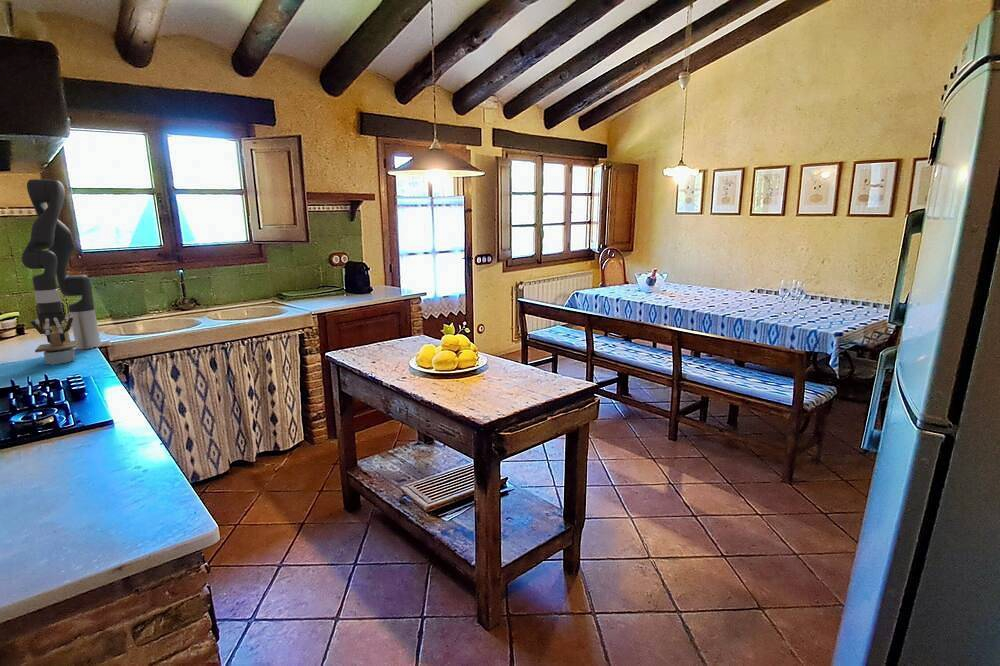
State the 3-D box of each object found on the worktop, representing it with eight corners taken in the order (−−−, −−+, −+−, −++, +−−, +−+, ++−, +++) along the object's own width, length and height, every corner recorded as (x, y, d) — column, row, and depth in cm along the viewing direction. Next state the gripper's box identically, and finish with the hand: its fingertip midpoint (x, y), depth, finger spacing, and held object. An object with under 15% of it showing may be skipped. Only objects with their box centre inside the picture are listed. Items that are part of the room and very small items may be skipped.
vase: (63, 358, 220) (57, 325, 217) (52, 357, 221) (45, 324, 218) (77, 354, 226) (71, 322, 223) (66, 354, 227) (59, 322, 224)
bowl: (48, 361, 215) (46, 349, 214) (76, 357, 220) (74, 346, 219) (44, 366, 208) (42, 353, 207) (73, 362, 212) (71, 350, 211)
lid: (40, 346, 214) (37, 332, 213) (79, 342, 221) (76, 328, 220) (35, 352, 204) (32, 338, 203) (75, 347, 211) (72, 333, 210)
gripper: (72, 298, 215) (80, 338, 219) (27, 301, 208) (36, 343, 211) (69, 300, 209) (77, 342, 213) (23, 303, 202) (32, 347, 205)
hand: (57, 342), depth 212 cm, fingers closed on lid, 3 cm apart
